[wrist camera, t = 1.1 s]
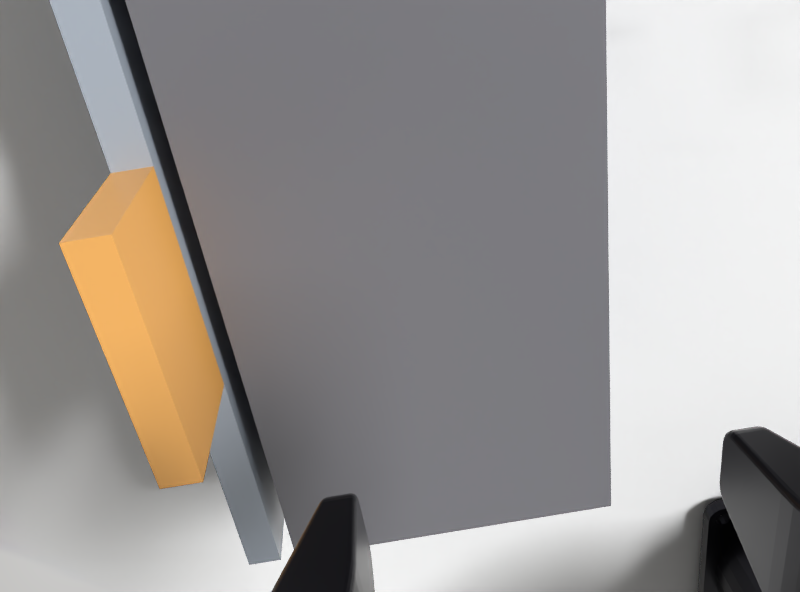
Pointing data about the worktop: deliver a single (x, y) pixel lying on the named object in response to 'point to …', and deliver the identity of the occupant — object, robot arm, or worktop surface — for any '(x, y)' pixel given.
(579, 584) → the worktop surface
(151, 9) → the cabinet housing
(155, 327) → the door
